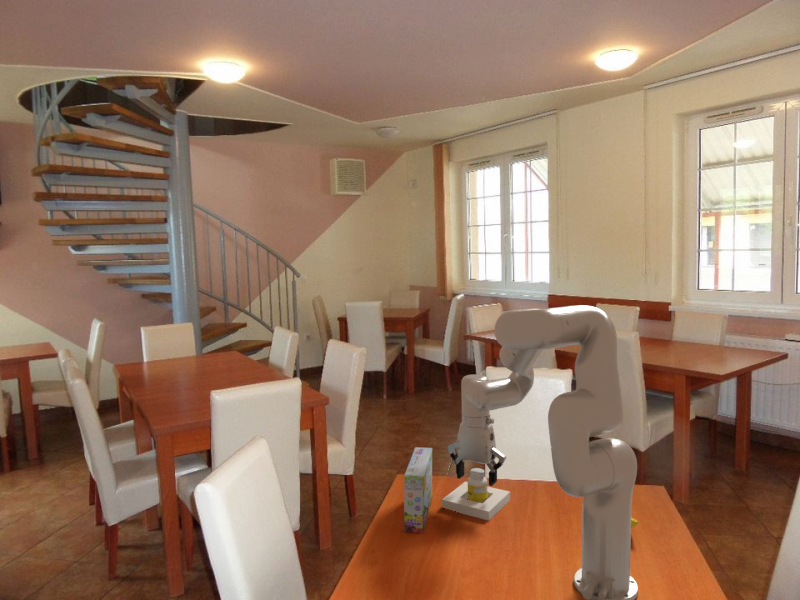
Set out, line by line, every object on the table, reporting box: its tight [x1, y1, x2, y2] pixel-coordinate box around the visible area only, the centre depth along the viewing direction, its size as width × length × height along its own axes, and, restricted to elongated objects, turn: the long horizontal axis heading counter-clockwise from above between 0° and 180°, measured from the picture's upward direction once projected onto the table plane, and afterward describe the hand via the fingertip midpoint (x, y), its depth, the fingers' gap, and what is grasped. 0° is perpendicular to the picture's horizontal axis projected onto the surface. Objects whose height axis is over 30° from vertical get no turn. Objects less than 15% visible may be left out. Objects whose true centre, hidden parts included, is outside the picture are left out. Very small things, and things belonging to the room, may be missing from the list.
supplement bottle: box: [467, 467, 488, 503], centre depth 160 cm, size 5×5×10 cm
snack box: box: [403, 447, 433, 534], centre depth 155 cm, size 21×6×15 cm, turn 171°
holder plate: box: [441, 481, 511, 521], centre depth 160 cm, size 14×14×2 cm
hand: (476, 480), depth 160 cm, fingers open, 9 cm apart
